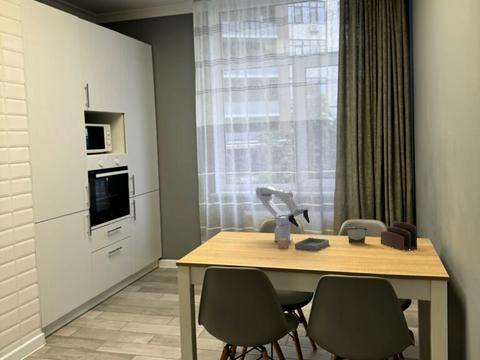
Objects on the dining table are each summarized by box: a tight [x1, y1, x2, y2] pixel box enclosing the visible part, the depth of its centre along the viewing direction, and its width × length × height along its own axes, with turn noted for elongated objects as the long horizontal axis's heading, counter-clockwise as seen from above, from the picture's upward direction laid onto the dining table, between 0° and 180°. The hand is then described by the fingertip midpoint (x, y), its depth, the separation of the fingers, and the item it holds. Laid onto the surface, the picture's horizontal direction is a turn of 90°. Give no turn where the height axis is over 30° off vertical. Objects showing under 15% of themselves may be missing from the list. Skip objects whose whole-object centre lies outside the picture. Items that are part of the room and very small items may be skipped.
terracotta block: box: [277, 238, 289, 249], centre depth 263 cm, size 4×4×5 cm
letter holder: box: [380, 221, 418, 251], centre depth 259 cm, size 10×20×14 cm, turn 21°
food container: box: [345, 224, 368, 244], centre depth 272 cm, size 12×6×10 cm, turn 84°
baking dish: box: [294, 237, 330, 252], centre depth 263 cm, size 13×19×3 cm
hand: (303, 224), depth 263 cm, fingers open, 7 cm apart
